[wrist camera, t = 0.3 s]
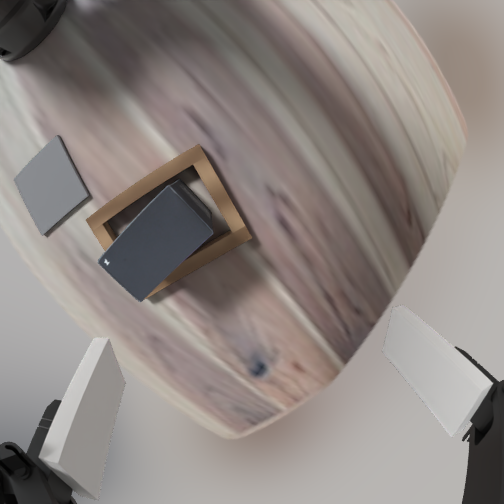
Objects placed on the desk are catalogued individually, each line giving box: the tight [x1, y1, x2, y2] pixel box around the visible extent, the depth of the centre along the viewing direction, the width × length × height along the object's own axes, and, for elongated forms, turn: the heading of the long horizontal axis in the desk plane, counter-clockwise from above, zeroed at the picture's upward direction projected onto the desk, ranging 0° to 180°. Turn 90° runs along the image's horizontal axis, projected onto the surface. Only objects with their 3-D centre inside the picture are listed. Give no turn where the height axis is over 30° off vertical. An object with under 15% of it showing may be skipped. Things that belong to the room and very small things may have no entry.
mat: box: [14, 135, 89, 236], centre depth 29 cm, size 10×10×1 cm
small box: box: [98, 179, 213, 302], centre depth 29 cm, size 11×6×10 cm, turn 131°
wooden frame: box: [86, 144, 252, 299], centre depth 33 cm, size 13×17×2 cm
